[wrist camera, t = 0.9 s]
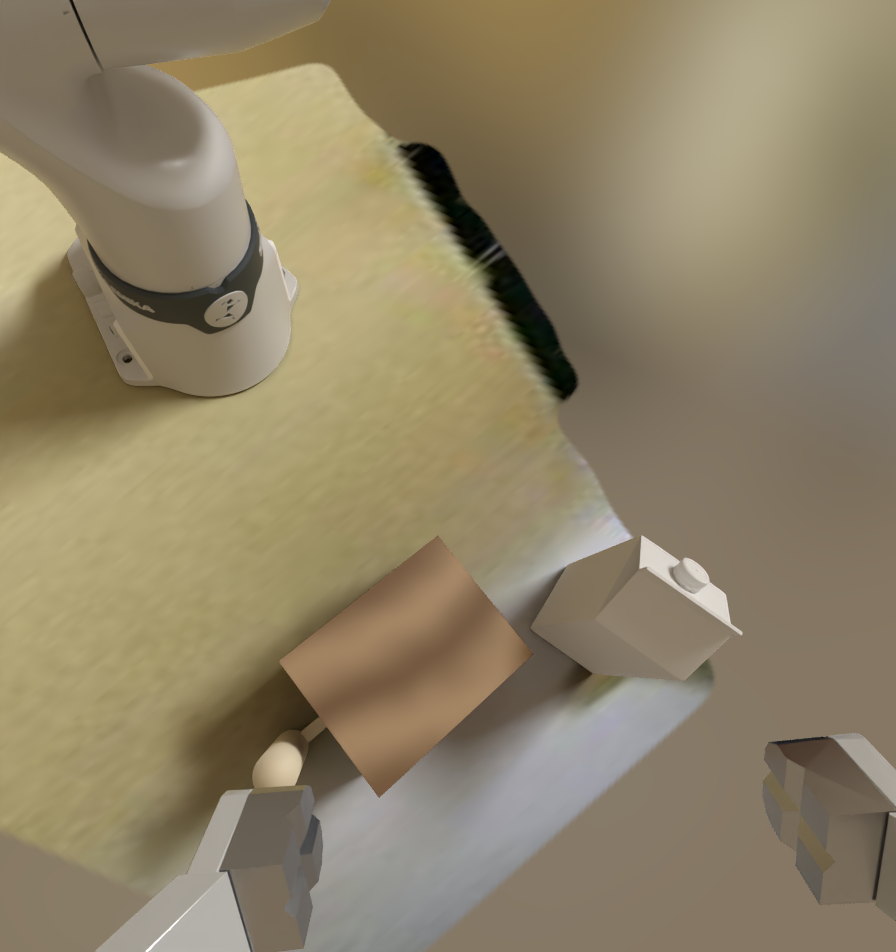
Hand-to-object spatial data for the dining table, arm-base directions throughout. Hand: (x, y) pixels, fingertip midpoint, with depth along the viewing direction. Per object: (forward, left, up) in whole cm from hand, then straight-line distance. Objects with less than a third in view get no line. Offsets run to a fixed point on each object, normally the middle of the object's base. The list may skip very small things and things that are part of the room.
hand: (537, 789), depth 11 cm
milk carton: (+7, +17, -42) cm, 46 cm away
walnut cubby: (-1, +2, -42) cm, 42 cm away
